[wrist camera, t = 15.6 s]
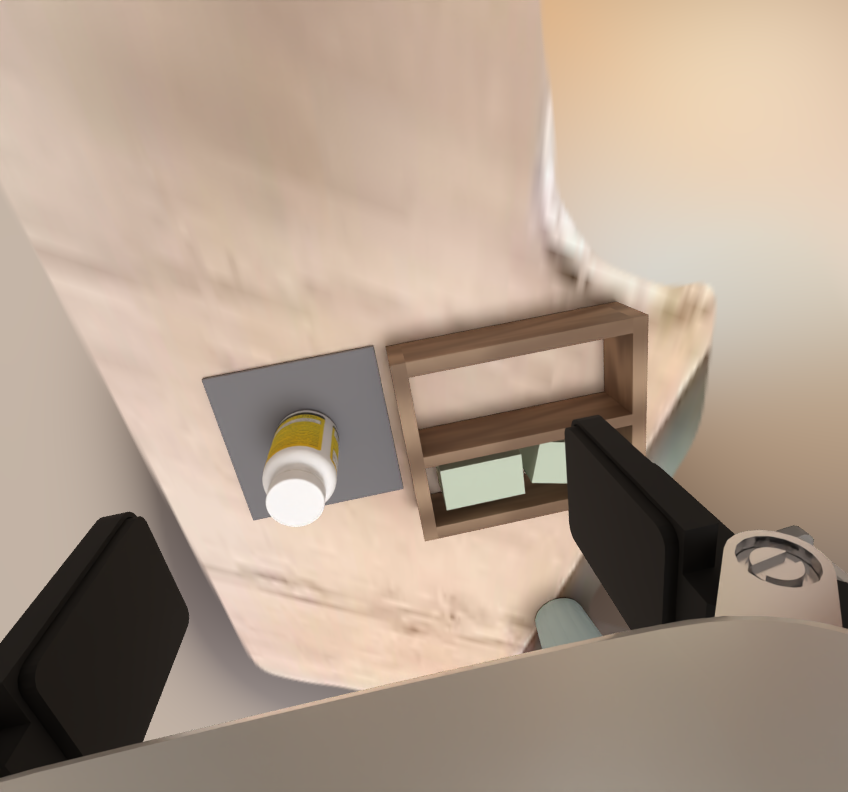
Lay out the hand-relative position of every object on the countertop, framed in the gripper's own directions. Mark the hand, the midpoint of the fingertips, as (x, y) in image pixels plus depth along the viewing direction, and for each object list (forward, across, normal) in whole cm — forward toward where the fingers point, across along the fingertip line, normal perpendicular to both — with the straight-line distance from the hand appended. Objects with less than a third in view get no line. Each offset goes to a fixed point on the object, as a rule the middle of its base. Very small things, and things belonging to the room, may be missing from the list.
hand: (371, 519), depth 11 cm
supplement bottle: (+30, +7, +12) cm, 33 cm away
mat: (+30, +7, +12) cm, 33 cm away
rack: (+30, -11, +14) cm, 35 cm away
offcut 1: (+31, -7, +18) cm, 36 cm away
